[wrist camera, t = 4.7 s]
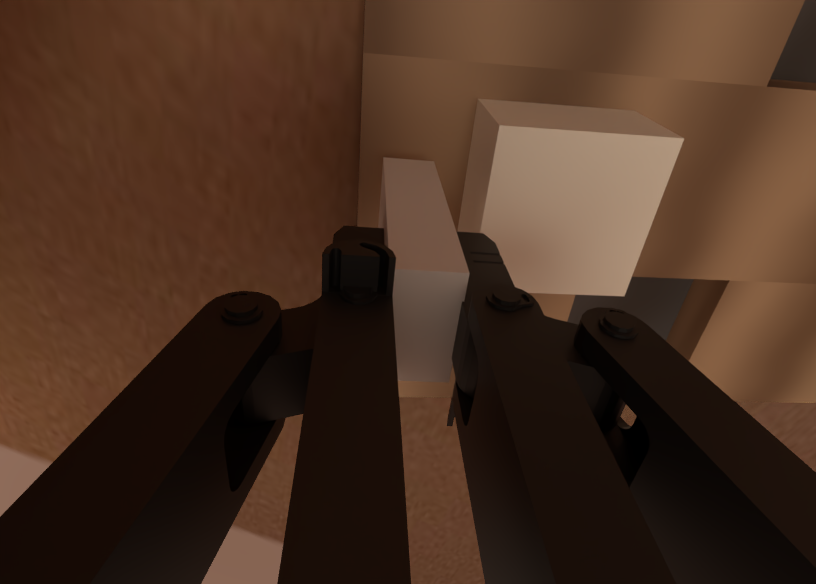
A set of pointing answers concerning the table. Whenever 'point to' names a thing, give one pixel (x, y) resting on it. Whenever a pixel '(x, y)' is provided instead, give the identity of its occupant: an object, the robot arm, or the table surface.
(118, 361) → the table surface
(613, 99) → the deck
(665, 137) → the block
